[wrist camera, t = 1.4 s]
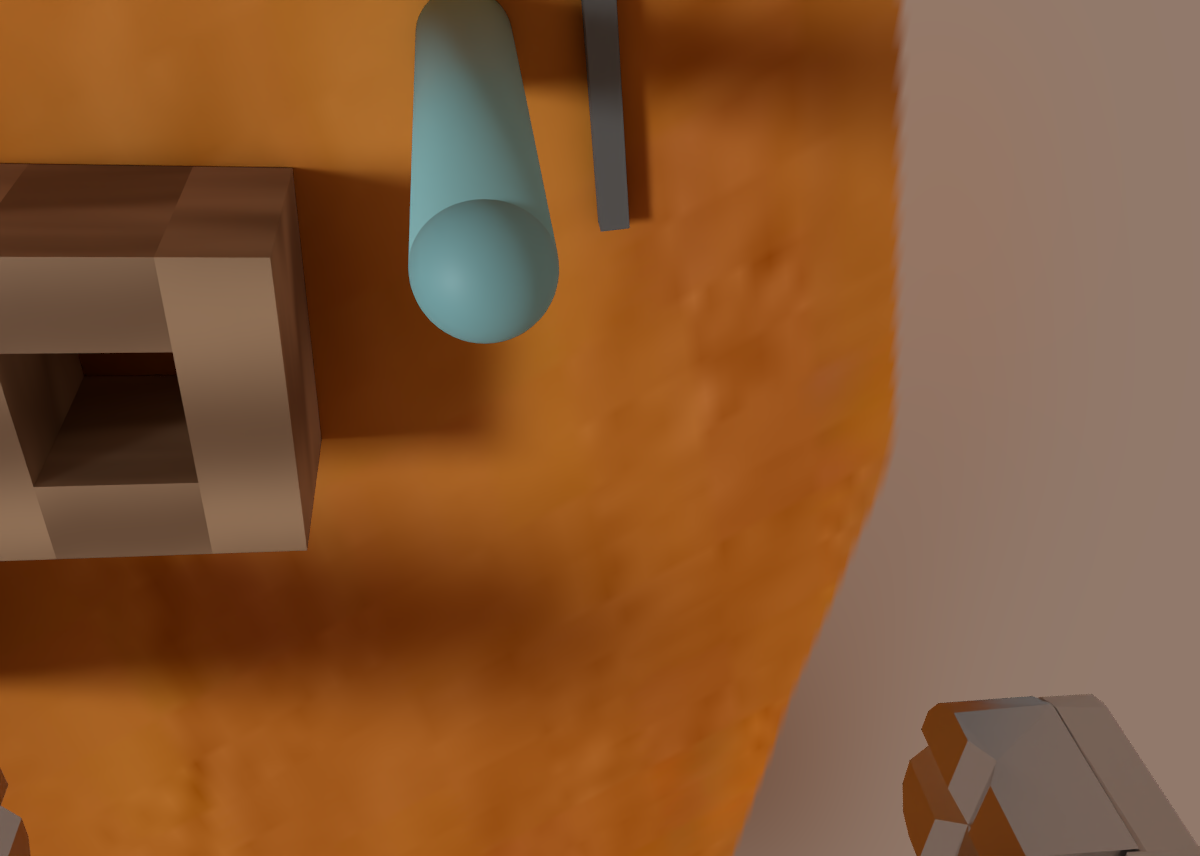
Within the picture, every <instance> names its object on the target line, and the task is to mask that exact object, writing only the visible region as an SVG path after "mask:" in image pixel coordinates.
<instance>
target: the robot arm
mask: <svg viewBox="0 0 1200 856" xmlns="http://www.w3.org/2000/svg"><path fill="white" fill-rule="evenodd" d="M921 730H922V732H923V734H924V736H925V739H926V741H927V743H928V745H929V746H927V747H926V748H925V749H924V750H922V751H921V752H920V753H918V754H917V755H916V756H915V757H913V758H912V759H911V760H910V762H909V765H908V768H907V772H906V775H905V778H904V781H903V813H904V817H905V822H906V825H907V830H908V834H909V837H910V840H911V842H912V845H913V847H914V850H915V853H916V855H917V856H1200V846H1198V845H1197V844H1196V842H1195V840H1194V839H1193V837H1192V836H1191V834H1190V833H1189V831H1188V830H1187V828H1186V827H1185V825H1184V824H1183V822H1182V821H1181V819H1180V818H1179V816H1178V814H1177V813H1176V811H1175V810H1174V808H1173V807H1172V805H1171V804H1170V802H1169V801H1168V799H1167V798H1166V796H1165V795H1164V793H1163V792H1162V790H1161V789H1160V788H1159V785H1158V784H1157V782H1156V781H1155V780H1154V778H1153V776H1152V775H1151V773H1150V772H1149V770H1148V769H1147V767H1146V766H1145V764H1144V763H1143V761H1142V760H1141V758H1140V757H1139V755H1138V753H1137V752H1136V750H1135V749H1134V747H1133V746H1132V744H1131V743H1130V741H1129V740H1128V738H1127V737H1126V735H1125V734H1124V732H1123V731H1122V729H1121V728H1120V726H1119V725H1118V723H1117V722H1116V720H1115V719H1114V717H1113V716H1112V714H1111V712H1110V711H1109V709H1108V708H1107V706H1106V705H1105V704H1104V703H1103V702H1102V701H1100V700H1099V699H1098V698H1096V697H1095V696H1094V695H1092V694H1086V695H1067V696H1052V697H1051V696H1050V697H1039V698H1035V697H1033V696H1029V697H1015V698H1002V699H988V700H975V701H961V702H947V703H938V704H937V705H936V706H934V707H933V708H932V709H931V710H929V711H928V713H927V716H926V719H925V721H924V724H923V726H922V729H921ZM7 787H8V783H7V781H6V779H5V777H4V775H3V773H2V771H1V769H0V856H30V848H29V839H28V834H27V832H26V829H25V826H24V824H23V821H22V818H20V817H19V816H17V815H15V814H14V813H12V812H10V811H9V810H7V809H5V808H3V807H2V806H1V803H2V800H3V797H4V795H5V792H6V789H7Z"/></svg>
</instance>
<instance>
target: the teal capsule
mask: <svg viewBox="0 0 1200 856" xmlns="http://www.w3.org/2000/svg"><path fill="white" fill-rule="evenodd" d="M408 272H409V280H410V285H411V289H412V292H413V294H414V297H415V299H416V301H417V303H418V305H419V307H420V308H421V310H422V311H423V312H424V314H425V315H426V316H427V317H428V319H429V320H430V321H431V322H432V323H433V324H435V325H436V326H437V327H438V328H440V329H441V330H442V331H444V332H446V333H447V334H449V335H451V336H453V337H455V338H458V339H460V340H464V341H467V342H473V343H484V344H486V343H497V342H502V341H506V340H509V339H512V338H514V337H516V336H519V335H520V334H522V333H524V332H525V331H527V330H528V329H529V328H531V327H532V326H533V325H534V324H535V323H536V322H537V321H538V320H540V318H541V317H542V316H543V315H544V313H545V312H546V310H547V309H548V307H549V305H550V304H551V302H552V299H553V297H554V295H555V291H556V288H557V283H558V277H559V261H558V254H557V249H556V244H555V239H554V234H553V229H552V224H551V220H550V215H549V210H548V205H547V200H546V195H545V190H544V185H543V180H542V175H541V170H540V165H539V160H538V156H537V151H536V146H535V141H534V136H533V131H532V126H531V121H530V116H529V111H528V106H527V101H526V96H525V92H524V87H523V82H522V77H521V72H520V67H519V62H518V57H517V52H516V47H515V42H514V37H513V33H512V28H511V24H510V21H509V18H508V16H507V14H506V12H505V11H504V9H503V8H502V7H501V5H500V4H499V3H498V2H497V1H496V0H430V1H429V2H428V3H427V4H426V5H425V7H424V8H423V10H422V11H421V13H420V16H419V18H418V21H417V26H416V40H415V71H414V102H413V133H412V164H411V196H410V227H409V258H408Z"/></svg>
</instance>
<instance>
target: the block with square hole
mask: <svg viewBox="0 0 1200 856" xmlns="http://www.w3.org/2000/svg"><path fill="white" fill-rule="evenodd" d="M147 352H173V357H174V362H175V367H176V372H177V375H170V376H88V377H84V374H83V370H82V367H81V363H80V359H79V355H78V353H147ZM321 441H322V440H321V430H320V421H319V412H318V402H317V393H316V383H315V374H314V365H313V355H312V346H311V337H310V327H309V318H308V309H307V299H306V290H305V280H304V271H303V262H302V252H301V243H300V234H299V224H298V215H297V205H296V196H295V187H294V177H293V168H265V167H196V166H128V165H60V164H0V561H18V560H47V559H75V558H104V557H132V556H160V555H189V554H217V553H246V552H274V551H303V550H307V547H308V540H309V532H310V524H311V517H312V509H313V502H314V494H315V486H316V479H317V471H318V464H319V456H320V448H321Z"/></svg>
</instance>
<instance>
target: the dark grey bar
mask: <svg viewBox="0 0 1200 856" xmlns="http://www.w3.org/2000/svg"><path fill="white" fill-rule="evenodd" d="M581 2H582V15H583V28H584V41H585V54H586V67H587V80H588V94H589V107H590V120H591V133H592V146H593V159H594V172H595V185H596V198H597V211H598V223H599V226H600V230H601V231H610V230H618V229H626V228H629V210H628V193H627V175H626V158H625V140H624V123H623V105H622V88H621V70H620V53H619V35H618V17H617V0H581Z"/></svg>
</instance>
